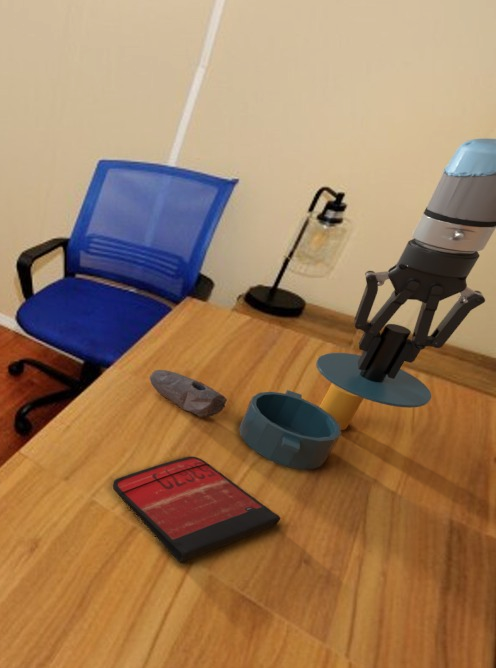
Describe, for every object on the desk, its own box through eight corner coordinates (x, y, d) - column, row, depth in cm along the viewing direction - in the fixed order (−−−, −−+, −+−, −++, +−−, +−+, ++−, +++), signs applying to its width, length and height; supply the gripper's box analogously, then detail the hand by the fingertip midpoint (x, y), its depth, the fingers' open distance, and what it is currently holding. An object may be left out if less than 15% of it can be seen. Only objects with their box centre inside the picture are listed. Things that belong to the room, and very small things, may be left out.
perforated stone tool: (140, 388, 117) (148, 363, 114) (154, 381, 119) (162, 357, 116) (206, 428, 105) (217, 402, 102) (221, 419, 107) (231, 394, 104)
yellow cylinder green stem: (346, 419, 107) (374, 369, 101) (347, 433, 103) (377, 383, 97) (314, 409, 110) (340, 360, 104) (314, 422, 106) (341, 372, 100)
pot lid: (421, 376, 89) (454, 323, 84) (434, 423, 79) (472, 366, 74) (314, 348, 97) (338, 298, 92) (314, 387, 87) (341, 333, 82)
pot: (323, 431, 104) (338, 403, 101) (324, 491, 91) (342, 461, 88) (243, 403, 112) (255, 376, 108) (234, 455, 99) (247, 427, 95)
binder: (281, 516, 84) (184, 555, 78) (277, 526, 85) (180, 565, 79) (196, 450, 98) (107, 479, 92) (193, 459, 99) (105, 488, 93)
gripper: (374, 240, 78) (315, 363, 89) (533, 267, 69) (446, 400, 80) (370, 226, 83) (315, 344, 94) (518, 249, 74) (438, 376, 85)
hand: (375, 369), depth 87 cm, fingers closed on pot lid, 3 cm apart
